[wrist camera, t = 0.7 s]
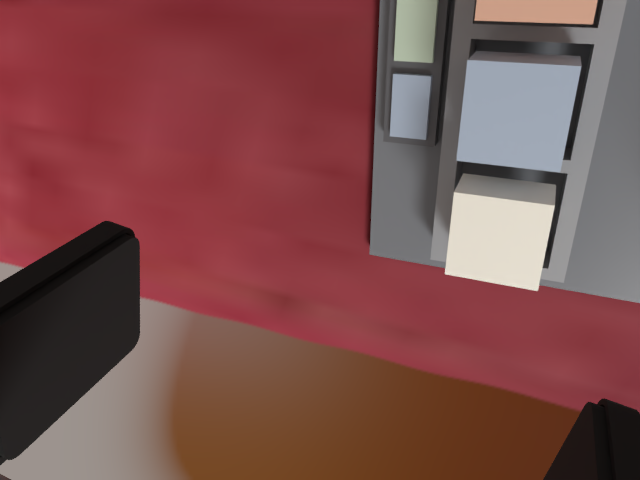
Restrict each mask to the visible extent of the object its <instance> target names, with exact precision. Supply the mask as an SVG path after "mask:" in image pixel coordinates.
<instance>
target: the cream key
mask: <svg viewBox="0 0 640 480" xmlns="http://www.w3.org/2000/svg"><path fill="white" fill-rule="evenodd" d="M555 196H556V185H555V184H546V183H538V182H530V181H522V180H514V179H505V178H497V177H489V176H481V175H473V174H465V173H463V175H462V177H461V179H460V181H459V183H458V185H457V187H456V189H455V191H454V196H453V205H452V214H451V223H450V232H449V241H448V250H447V259H446V268H445V274H447V275H453V276H458V277H464V278H469V279H474V280H480V281H485V282H491V283H496V284H502V285H507V286H513V287H518V288H524V289H529V290H535V291H538V287H539V282H540V277H541V272H542V267H543V262H544V257H545V252H546V248H547V243H548V238H549V233H550V228H551V223H552V218H553V213H554V208H555Z"/></svg>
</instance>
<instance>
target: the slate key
mask: <svg viewBox="0 0 640 480" xmlns="http://www.w3.org/2000/svg"><path fill="white" fill-rule="evenodd" d="M580 71H581V57H580V56H569V55H549V54H529V53H509V52H489V51H476V52H475V53H474V54H473V55H472V56H471V57H470V58H469V59H468V60H467V68H466V78H465V87H464V96H463V105H462V114H461V123H460V132H459V141H458V150H457V159H456V161H464V162H472V163H481V164H490V165H499V166H507V167H516V168H525V169H533V170H542V171H551V172H559V173H560V171H561V166H562V161H563V156H564V151H565V146H566V141H567V136H568V131H569V126H570V121H571V116H572V111H573V106H574V101H575V96H576V91H577V86H578V81H579V76H580Z"/></svg>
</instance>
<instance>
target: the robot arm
mask: <svg viewBox="0 0 640 480" xmlns="http://www.w3.org/2000/svg"><path fill="white" fill-rule="evenodd" d="M139 335H140V245H139V241H138V239H137V238H135V234H134V232H133V230H131V229H130V228H127V227H124V226H121V225H119V224H116V223H113V222H110V221H104V222H102V223H100V224H98V225H97V226H95V227H93V228H92V229H90V230H88V231H86V232H85V233H83V234H81V235H80V236H78V237H76V238H75V239H73V240H71V241H69V242H68V243H66V244H64V245H63V246H61V247H59V248H58V249H56V250H54V251H52V252H51V253H49V254H47V255H46V256H44V257H42V258H41V259H39V260H37V261H35V262H34V263H32V264H30V265H29V266H27V267H25V268H24V269H22V270H20V271H19V272H17V273H15V274H13V275H12V276H10V277H8V278H7V279H5V280H3V281H2V282H0V465H1V464H2V463H3V462H5V461H6V460H7V459H8V460H12V459H14V458H16V457H17V456H19V455H20V454H21V453H22V452H23V451H24V450H25V449H26V448H28V447H29V446H30V445H31V444H32V443H33V442H34V441H35V440H36V439H37V438H38V437H39V436H40V435H41V434H42V433H43V432H44V431H46V430H47V429H48V428H49V427H50V426H51V425H52V424H53V423H54V422H55V421H57V420H58V419H59V418H60V417H61V416H62V415H63V414H64V413H65V412H66V411H67V410H68V409H69V408H70V407H71V406H72V405H74V404H75V403H76V402H77V401H78V400H79V399H80V398H81V397H82V396H83V395H84V394H85V393H87V392H88V391H89V390H90V389H91V388H92V387H93V386H94V385H95V384H96V383H97V382H98V381H99V380H100V379H102V378H103V377H104V376H105V375H106V374H107V373H108V372H109V371H110V370H111V369H112V368H113V367H114V366H116V365H117V364H118V363H119V362H120V361H121V360H122V359H123V358H124V357H125V356H126V355H127V354H128V353H129V352H130V351H132V349H133V348H134V347H135V345H136V344H137V342H138V339H139ZM0 480H11V479H9V478H7V477H5V476H3V475H1V474H0ZM543 480H640V414H639V412H638V411H637V410H635V409H632V408H629V407H627V406H624V405H621V404H618V403H615V402H613V401H610V400H607V399H601V400H600V401H599V402H598V404H594V403H591V402H588V403H587V404H586V405H585V406H584V408H583V410H582V411H581V413H580V415H579V417H578V419H577V420H576V422H575V424H574V426H573V428H572V429H571V431H570V433H569V435H568V436H567V438H566V440H565V442H564V443H563V445H562V447H561V449H560V451H559V452H558V454H557V456H556V458H555V460H554V461H553V463H552V465H551V467H550V469H549V470H548V472H547V474H546V476H545V477H544V479H543Z"/></svg>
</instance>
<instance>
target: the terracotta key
mask: <svg viewBox="0 0 640 480" xmlns="http://www.w3.org/2000/svg"><path fill="white" fill-rule="evenodd" d="M597 2H598V0H477V2H476V11H475V20H474V21H503V22H534V23H565V24H593V21H594V16H595V11H596V6H597Z"/></svg>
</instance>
